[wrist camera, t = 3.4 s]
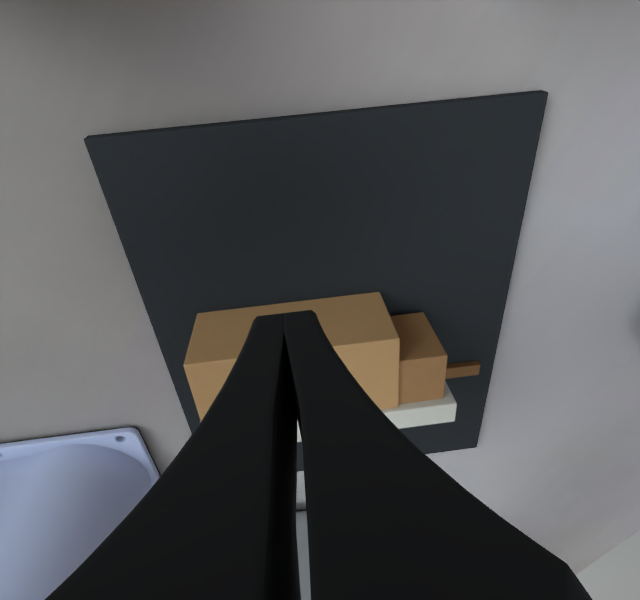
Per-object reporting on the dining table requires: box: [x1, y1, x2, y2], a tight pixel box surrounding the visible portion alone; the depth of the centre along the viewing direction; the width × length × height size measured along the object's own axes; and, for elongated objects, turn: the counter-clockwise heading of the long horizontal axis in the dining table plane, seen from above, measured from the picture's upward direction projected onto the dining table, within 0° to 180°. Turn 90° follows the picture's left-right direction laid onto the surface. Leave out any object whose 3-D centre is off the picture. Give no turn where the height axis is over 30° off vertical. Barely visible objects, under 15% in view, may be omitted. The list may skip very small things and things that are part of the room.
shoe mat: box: [84, 90, 548, 471], centre depth 23 cm, size 18×22×1 cm
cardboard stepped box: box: [183, 292, 457, 442], centre depth 21 cm, size 12×5×4 cm, turn 94°
